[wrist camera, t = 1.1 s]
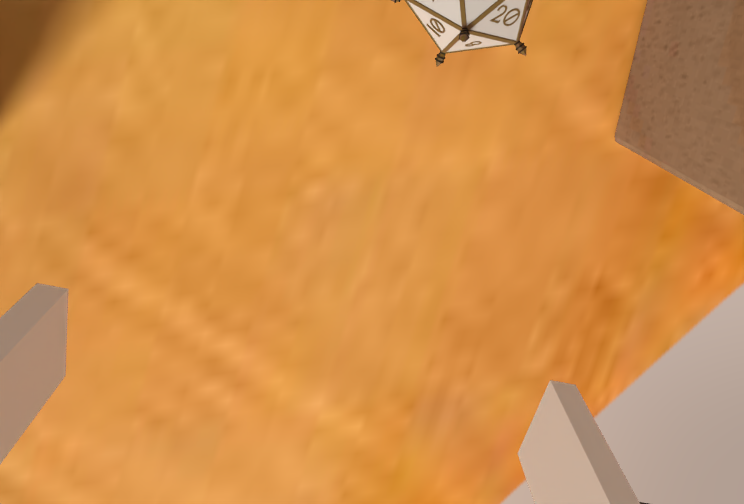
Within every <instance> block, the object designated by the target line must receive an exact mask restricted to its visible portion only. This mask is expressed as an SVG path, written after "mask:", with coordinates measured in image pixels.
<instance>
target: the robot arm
mask: <svg viewBox="0 0 744 504" xmlns="http://www.w3.org/2000/svg"><path fill="white" fill-rule="evenodd" d="M67 313H68V289H65V288H60V287H55V286H50V285H44V284H39V283H37V284H36V285H35V286H34V287H32V288H31V289H30V290H29V291H28V292H27V293H26V294H25V295H24V296H23V297H22V298H21V299H20V300H19V301H18V302H17V303H16V304H15V305H13V306H12V307H11V308H10V309H9V310H8V311H7V312H6V313H5V314H4V315H3V316H2V317H1V318H0V464H1V463H2V461H3V460H4V459H5V457H6V456H7V454H8V453H9V452H10V450H11V449H12V448H13V446H14V445H15V444H16V442H17V441H18V440H19V438H20V437H21V435H22V434H23V433H24V431H25V430H26V429H27V427H28V426H29V425H30V423H31V422H32V421H33V419H34V418H35V416H36V415H37V414H38V412H39V411H40V410H41V408H42V407H43V406H44V404H45V403H46V402H47V400H48V399H49V397H50V396H51V395H52V393H53V392H54V391H55V389H56V388H57V387H58V385H59V384H60V382H61V381H62V380H63V378H64V377H65V373H66V343H67ZM518 456H519V459H520V462H521V465H522V468H523V471H524V474H525V477H526V480H527V483H528V485H529V488H530V491H531V494H532V497H533V500H534V503H535V504H648V503H641V502H639V501H638V499H637V497H636V495H635V494H634V492H633V490H632V488H631V486H630V485H629V483H628V481H627V479H626V477H625V475H624V474H623V472H622V470H621V468H620V466H619V464H618V462H617V461H616V459H615V457H614V455H613V453H612V451H611V450H610V448H609V446H608V444H607V442H606V440H605V438H604V437H603V435H602V433H601V431H600V429H599V427H598V425H597V424H596V422H595V420H594V418H593V416H592V414H591V413H590V411H589V409H588V407H587V405H586V403H585V402H584V400H583V398H582V396H581V394H580V392H579V390H578V389H577V387H576V385H573V384H568V383H563V382H557V381H552V380H550V382H549V384H548V386H547V388H546V391H545V393H544V395H543V397H542V400H541V402H540V404H539V406H538V409H537V411H536V413H535V416H534V418H533V420H532V422H531V425H530V427H529V429H528V431H527V434H526V436H525V438H524V440H523V443H522V445H521V447H520V449H519V452H518Z"/></svg>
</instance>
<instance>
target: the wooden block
mask: <svg viewBox="0 0 744 504" xmlns="http://www.w3.org/2000/svg"><path fill="white" fill-rule="evenodd" d="M615 141H616V142H617V143H619V144H621V145H623V146H624V147H626V148H628V149H630V150H631V151H633V152H635V153H637V154H638V155H640V156H642V157H644V158H645V159H647V160H649V161H651V162H652V163H654V164H656V165H658V166H659V167H661V168H663V169H665V170H666V171H668V172H670V173H672V174H673V175H675V176H677V177H679V178H680V179H682V180H684V181H686V182H687V183H689V184H691V185H693V186H694V187H696V188H698V189H699V190H701V191H703V192H705V193H706V194H708V195H710V196H712V197H713V198H715V199H717V200H719V201H720V202H722V203H724V204H726V205H727V206H729V207H731V208H733V209H734V210H736V211H738V212H740V213H741V214H743V215H744V0H647V4H646V8H645V12H644V17H643V21H642V25H641V29H640V33H639V37H638V41H637V46H636V50H635V54H634V58H633V62H632V66H631V70H630V75H629V79H628V83H627V87H626V91H625V95H624V99H623V103H622V108H621V112H620V116H619V120H618V124H617V128H616V132H615Z"/></svg>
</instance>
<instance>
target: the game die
mask: <svg viewBox="0 0 744 504" xmlns="http://www.w3.org/2000/svg"><path fill="white" fill-rule="evenodd" d="M391 1H394V2H395V3H396V2H397V1H399V2H400V0H391ZM405 1H406V3H407V4H408V6H409V7H410V8H411V10H412V11H413V13H414V14H415V16H416V17H417V18H418V20H419V21H420V23H421V24H422V25H423V27H424V28H425V30H426V31H427V32H428V34H429V35H430V37H431V38H432V40H433V41H434V42H435V44H436V45H437V47H438V48H439V49H440V53H439V54H437V57H436V58H435V60H436V65H437V66H439V65H440V64H441V63H443V62H444V59H445V54H446V53H453V52H460V51H468V50H476V49H483V48H491V47H499V46H506V45H515V46H516V50H517V51H518V54H519V53H520V54H523V55H526V47H527V46H526V47H525V46H524V43H521V42H520V37H521V34H522V31H523V28H524V25H525V22H526V19H527V16H528V13H529V10H530V8H531V5H532V2H533V0H405Z"/></svg>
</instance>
